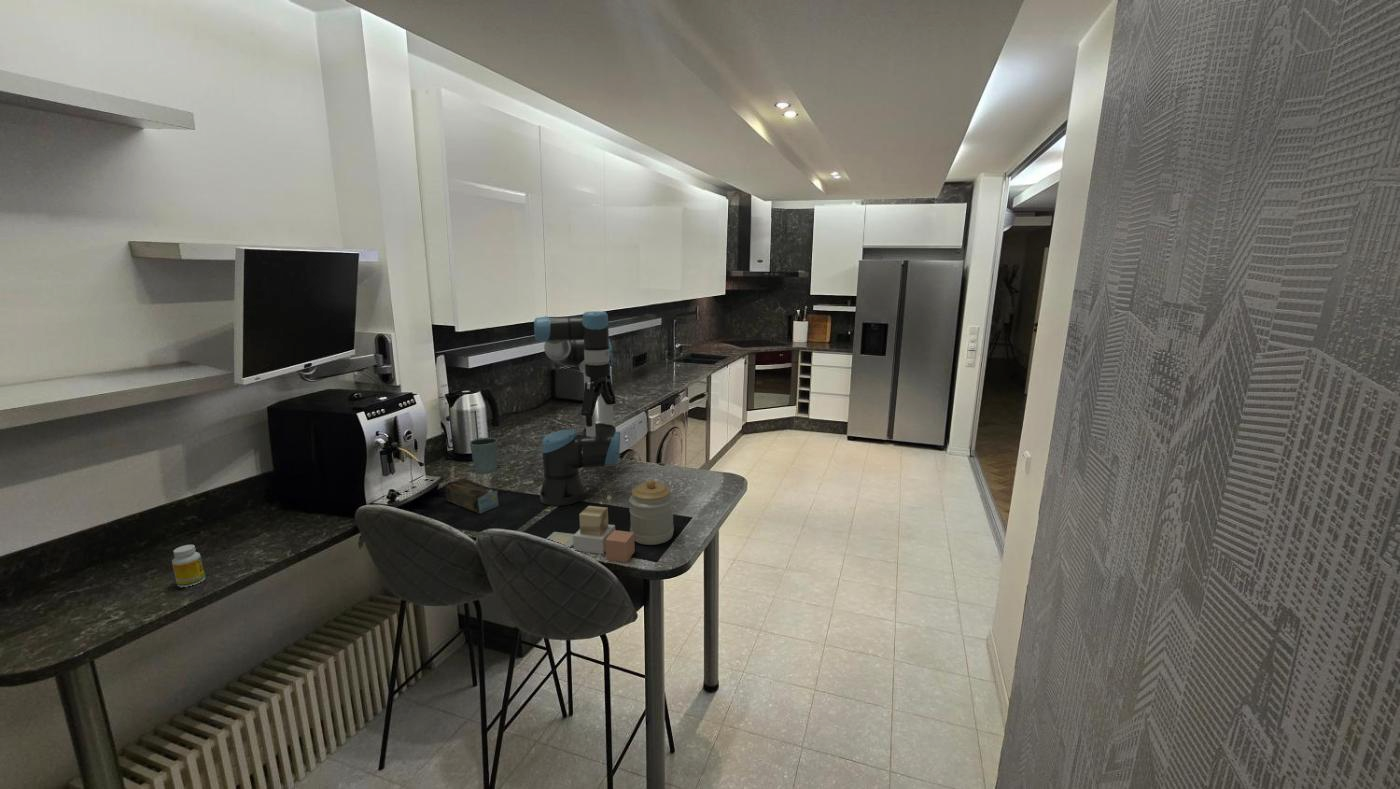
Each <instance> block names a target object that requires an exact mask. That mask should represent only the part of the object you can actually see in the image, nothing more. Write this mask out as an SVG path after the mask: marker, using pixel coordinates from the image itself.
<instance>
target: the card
mask: <svg viewBox="0 0 1400 789" xmlns="http://www.w3.org/2000/svg"><path fill="white" fill-rule="evenodd" d="M574 534H575V533H568V532H567V533H566V532H559V531H553V532H552V533H551V534H550V535H549V536H548V537H546V539H550V540H553V541H555V542H559V543H561V544H564V545H566V546H569V547H571V548H572V547H574V545H573V535H574Z"/></svg>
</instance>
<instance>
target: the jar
mask: <svg viewBox="0 0 1400 789" xmlns="http://www.w3.org/2000/svg"><path fill="white" fill-rule="evenodd" d="M628 501H629V504H630V507H629V513H630V515H629V516H630V517H629V518H630V528H629V532H634V542H636V543H637V544H640V545H649V546H652V545H654V546H655V545H660V544H664V543H666V542H668V541H669V540H671V539H672V538H673V536H674V531H675V530H674V528H675V527H674V506H673V504H672V502H674V496H673V495H672V493H671V489H670V487H669V486H667V485H665V484H663V483H661V482H656V481H655V480H654V479H647V481H646V482H642V483H640V484H638V485H637V486H635V487H634V488H633V489H632V490H631V495H630V497H629V500H628Z"/></svg>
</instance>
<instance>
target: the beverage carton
mask: <svg viewBox="0 0 1400 789" xmlns="http://www.w3.org/2000/svg"><path fill="white" fill-rule="evenodd" d="M444 490H445V491H444V492H445V498H446V501H447V502H448V503H449V502H450V503H452V504H454V505H457V506H459V507H462V508H464V509H467V510H469V511H472V512H475V513H478V514H479V515H480V514H482V513H485V512H487V511H490V510H492V509H495V508H497V507H499V505H500V504H499V498H498V496H499V495H498V490H495V489H494V488H491V487H489V486H486V485H484V484H481V483H478V482H475V481H473V480H469V479H467V478H462V479H460V480H457V481H453V482H451V483H448V484H445V485H444Z"/></svg>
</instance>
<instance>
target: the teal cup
mask: <svg viewBox="0 0 1400 789" xmlns="http://www.w3.org/2000/svg"><path fill="white" fill-rule="evenodd" d="M469 447H470V452H471V458H472V462H473V471H474V472H475V473H476V474H480V475H481V474H482V475H483V474H489V473H493V472H495V471H496V470H497V469H498V461H497V460H498V439H497V438H495V437H479V438H475V439H472V440H470V441H469Z"/></svg>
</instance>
